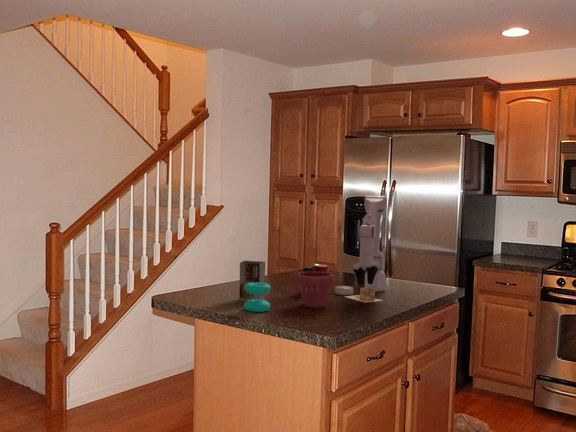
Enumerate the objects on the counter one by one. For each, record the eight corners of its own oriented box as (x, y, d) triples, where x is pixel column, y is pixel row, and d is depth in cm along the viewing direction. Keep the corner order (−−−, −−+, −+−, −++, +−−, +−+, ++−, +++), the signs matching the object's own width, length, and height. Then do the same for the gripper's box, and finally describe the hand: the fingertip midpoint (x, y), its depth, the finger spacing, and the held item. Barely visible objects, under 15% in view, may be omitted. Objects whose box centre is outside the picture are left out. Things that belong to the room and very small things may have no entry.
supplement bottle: (313, 292, 259) (314, 266, 258) (316, 295, 252) (317, 268, 251) (298, 292, 258) (299, 266, 257) (301, 295, 251) (302, 268, 250)
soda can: (326, 293, 258) (327, 266, 257) (310, 292, 260) (311, 265, 259) (328, 290, 265) (329, 264, 265) (313, 289, 267) (313, 263, 266)
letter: (361, 294, 257) (361, 294, 257) (383, 300, 245) (383, 300, 245) (344, 296, 251) (344, 296, 251) (365, 302, 240) (365, 302, 239)
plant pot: (297, 301, 240) (298, 270, 239) (330, 302, 239) (331, 271, 238) (296, 308, 225) (297, 275, 225) (332, 309, 225) (333, 277, 224)
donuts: (248, 281, 226) (273, 282, 224) (247, 306, 227) (272, 308, 225) (241, 285, 216) (267, 287, 214) (241, 311, 217) (267, 313, 215)
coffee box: (264, 300, 239) (265, 261, 239) (259, 303, 233) (260, 263, 233) (244, 298, 242) (245, 260, 242) (238, 300, 236) (239, 261, 235)
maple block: (368, 297, 250) (368, 287, 250) (374, 299, 246) (375, 289, 246) (359, 298, 248) (360, 288, 247) (366, 300, 244) (366, 289, 243)
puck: (344, 291, 264) (345, 285, 264) (356, 294, 258) (356, 288, 257) (331, 293, 259) (331, 286, 259) (343, 296, 253) (343, 289, 253)
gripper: (369, 251, 254) (368, 281, 255) (348, 253, 244) (347, 284, 245) (382, 252, 249) (381, 284, 250) (361, 254, 239) (360, 287, 240)
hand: (365, 284), depth 247 cm, fingers open, 6 cm apart
